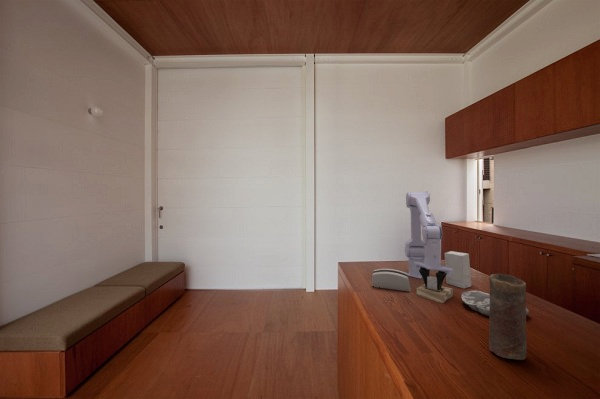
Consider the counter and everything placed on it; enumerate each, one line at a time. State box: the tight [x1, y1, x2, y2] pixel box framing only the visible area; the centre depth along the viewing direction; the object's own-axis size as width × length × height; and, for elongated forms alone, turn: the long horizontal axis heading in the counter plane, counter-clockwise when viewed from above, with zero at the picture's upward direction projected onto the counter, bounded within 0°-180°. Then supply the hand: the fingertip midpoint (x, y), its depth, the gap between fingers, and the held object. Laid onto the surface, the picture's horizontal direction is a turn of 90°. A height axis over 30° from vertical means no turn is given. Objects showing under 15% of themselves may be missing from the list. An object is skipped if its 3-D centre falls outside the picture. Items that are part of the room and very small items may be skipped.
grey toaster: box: [371, 268, 412, 292], centre depth 110 cm, size 17×5×10 cm, turn 65°
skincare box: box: [444, 250, 472, 289], centre depth 111 cm, size 8×6×15 cm
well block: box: [416, 283, 454, 304], centre depth 100 cm, size 10×10×3 cm
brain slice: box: [460, 290, 530, 317], centre depth 88 cm, size 20×17×3 cm
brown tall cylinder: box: [488, 273, 527, 361], centre depth 63 cm, size 8×7×20 cm
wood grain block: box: [427, 275, 441, 292], centre depth 100 cm, size 4×4×6 cm
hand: (433, 287), depth 100 cm, fingers closed on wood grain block, 4 cm apart
